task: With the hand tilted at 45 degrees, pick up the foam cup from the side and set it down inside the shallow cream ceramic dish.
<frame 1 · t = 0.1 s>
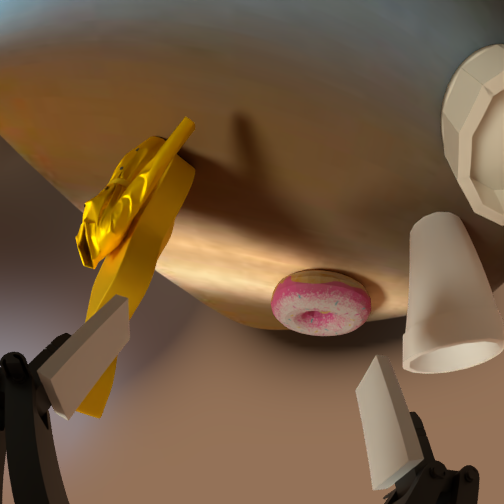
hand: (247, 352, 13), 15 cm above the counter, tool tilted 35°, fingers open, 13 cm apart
donut: (322, 288, 38), on the counter
figure statuette: (163, 166, 25), on the counter
foam cup: (436, 231, 24), on the counter
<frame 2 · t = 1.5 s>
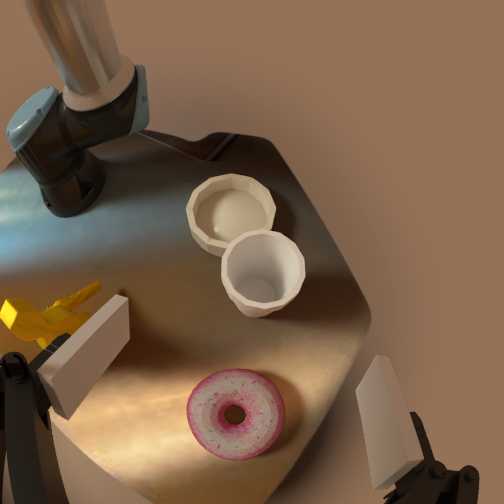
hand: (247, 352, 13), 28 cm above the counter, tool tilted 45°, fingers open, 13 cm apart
dish: (231, 220, 48), on the counter
donut: (236, 412, 36), on the counter
figure statuette: (90, 338, 38), on the counter
foam cup: (255, 297, 43), on the counter
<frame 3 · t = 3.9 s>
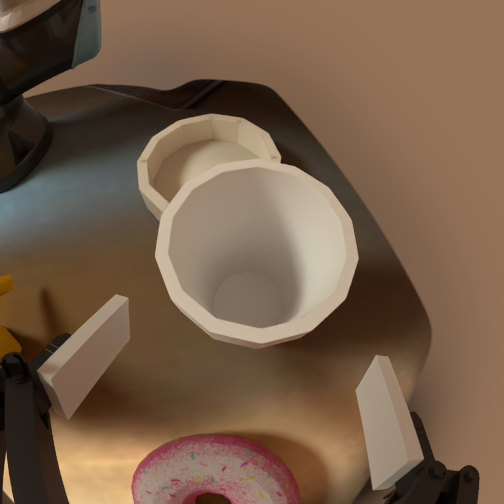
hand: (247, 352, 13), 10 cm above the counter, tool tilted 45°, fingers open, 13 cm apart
dish: (209, 182, 30), on the counter
donut: (217, 492, 17), on the counter
figure statuette: (6, 358, 20), on the counter
foam cup: (247, 306, 25), on the counter
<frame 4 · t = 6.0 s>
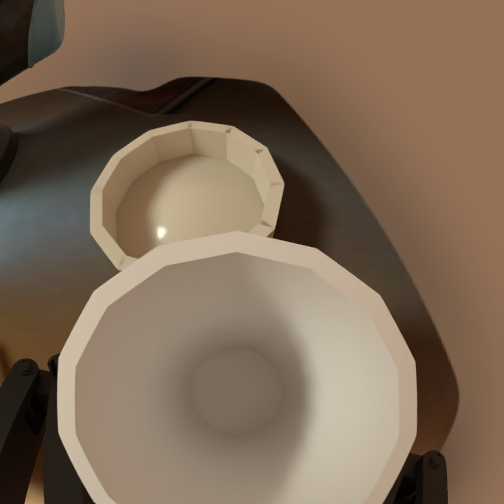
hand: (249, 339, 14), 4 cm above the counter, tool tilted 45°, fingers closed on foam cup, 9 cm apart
dish: (188, 214, 23), on the counter
foam cup: (236, 391, 17), on the counter, touching gripper
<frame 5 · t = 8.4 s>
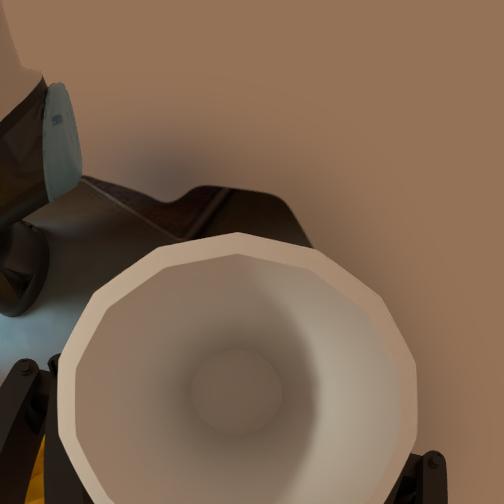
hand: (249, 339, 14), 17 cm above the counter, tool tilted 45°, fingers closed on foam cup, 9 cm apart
figure statuette: (59, 480, 20), on the counter
foam cup: (236, 391, 17), point 12 cm above the counter, touching gripper
when the fingers open (7 cm above the counter, at t = 11.1 s): foam cup drops 2 cm, resting on dish.
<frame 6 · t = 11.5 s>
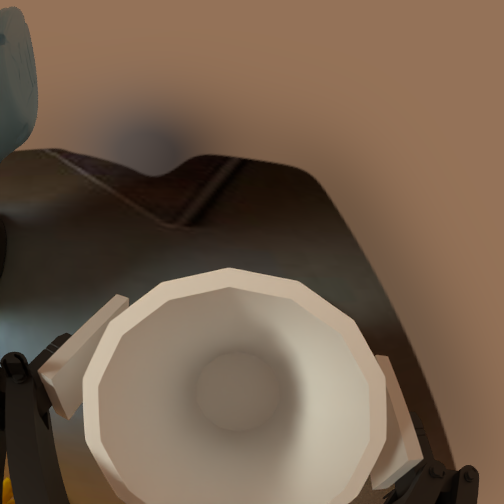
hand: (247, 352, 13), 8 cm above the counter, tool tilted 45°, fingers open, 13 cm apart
foam cup: (237, 391, 19), point 1 cm above the counter, touching dish
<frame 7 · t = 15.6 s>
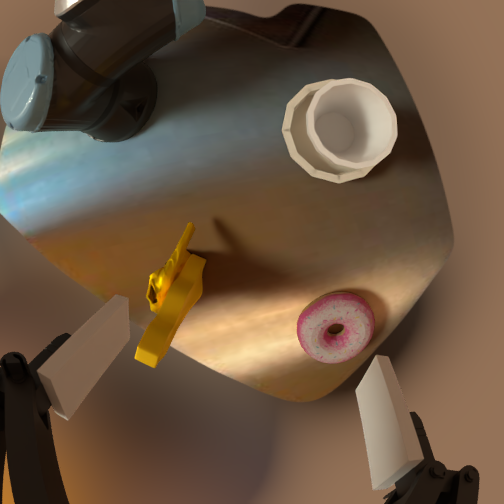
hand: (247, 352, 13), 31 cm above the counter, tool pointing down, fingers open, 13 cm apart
dish: (331, 132, 37), on the counter
donut: (334, 320, 47), on the counter
figure statuette: (190, 268, 47), on the counter
foam cup: (333, 132, 36), point 1 cm above the counter, touching dish
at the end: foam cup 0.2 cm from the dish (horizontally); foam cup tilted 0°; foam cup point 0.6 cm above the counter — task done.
